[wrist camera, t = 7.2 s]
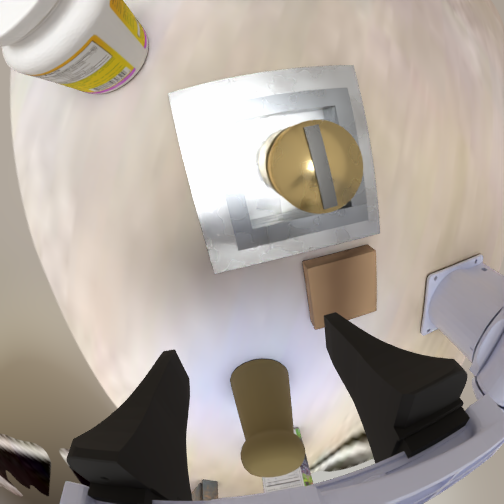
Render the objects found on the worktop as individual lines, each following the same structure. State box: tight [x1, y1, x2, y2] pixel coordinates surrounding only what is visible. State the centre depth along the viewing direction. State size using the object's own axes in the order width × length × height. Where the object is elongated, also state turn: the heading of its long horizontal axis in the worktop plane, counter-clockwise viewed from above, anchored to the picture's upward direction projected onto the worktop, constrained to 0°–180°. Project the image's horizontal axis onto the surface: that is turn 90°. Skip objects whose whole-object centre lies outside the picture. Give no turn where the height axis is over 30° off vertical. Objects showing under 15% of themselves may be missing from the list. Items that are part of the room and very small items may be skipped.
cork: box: [230, 359, 305, 477], centre depth 22 cm, size 6×6×11 cm
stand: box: [302, 245, 377, 330], centre depth 23 cm, size 6×6×2 cm
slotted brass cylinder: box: [258, 120, 363, 214], centre depth 17 cm, size 5×5×6 cm
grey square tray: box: [168, 65, 380, 274], centre depth 19 cm, size 14×14×3 cm
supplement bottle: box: [0, 0, 148, 94], centre depth 10 cm, size 7×7×13 cm
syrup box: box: [262, 428, 313, 493], centre depth 25 cm, size 6×6×14 cm
